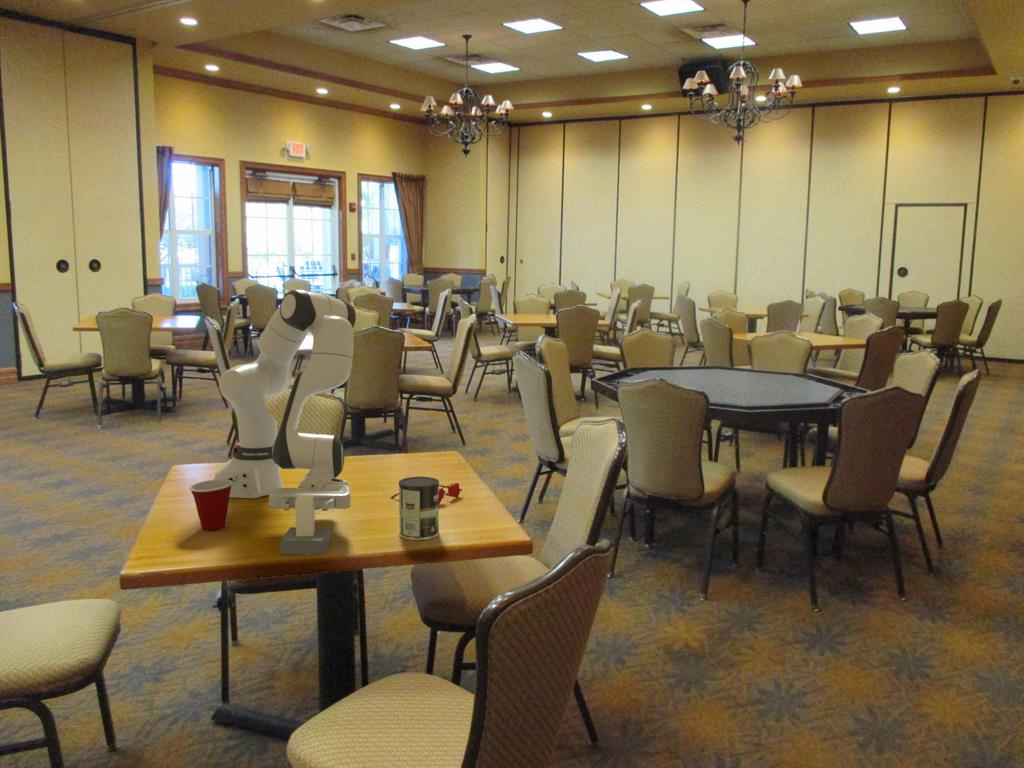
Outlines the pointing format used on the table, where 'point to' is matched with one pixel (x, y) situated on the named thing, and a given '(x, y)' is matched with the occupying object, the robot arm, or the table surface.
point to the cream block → (304, 516)
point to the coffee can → (419, 508)
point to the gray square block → (306, 542)
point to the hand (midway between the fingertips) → (305, 507)
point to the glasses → (452, 491)
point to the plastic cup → (212, 502)
